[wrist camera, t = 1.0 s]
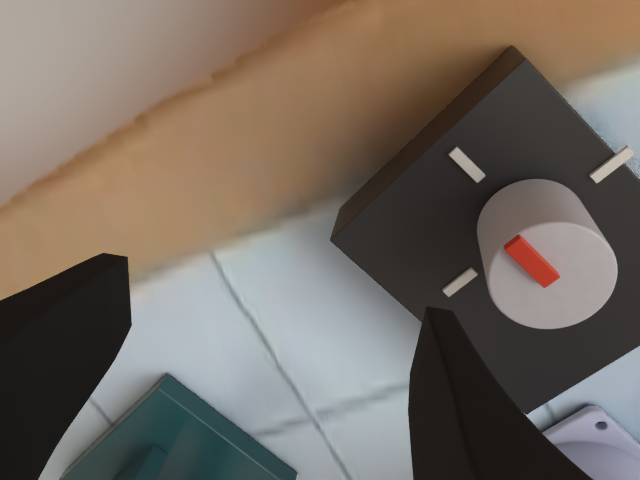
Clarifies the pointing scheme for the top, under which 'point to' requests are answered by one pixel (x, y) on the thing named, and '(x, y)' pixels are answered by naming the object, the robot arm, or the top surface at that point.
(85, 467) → the green lever stand
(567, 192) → the dial
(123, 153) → the top surface
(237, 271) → the top surface
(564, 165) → the control panel
